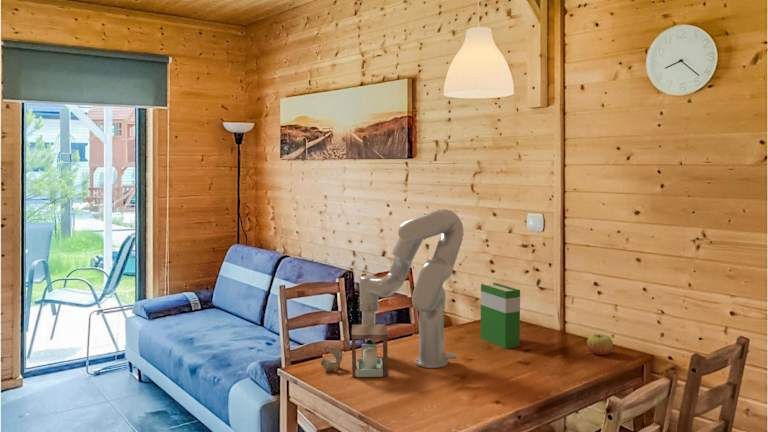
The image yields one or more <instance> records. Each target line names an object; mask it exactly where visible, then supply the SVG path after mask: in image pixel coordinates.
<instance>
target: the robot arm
mask: <svg viewBox="0 0 768 432" xmlns="http://www.w3.org/2000/svg"><path fill="white" fill-rule="evenodd" d="M397 230H398V232H397V234H398V237H399V238H398V239H397V242H396V244H395V245H394V247H393V250H392V255H393V262H392V265H391V267H390V269H389V271H388V272H387V274H386V275H385V276H382V277H380V278H379V277H378V276H377V275H373V274H366V275H365V274H364V275H362V276H360V278H359V311H360V312H361V315H362V316H361V325H363V324H376V312H378V311H379V297H381V298H387V297H390V296H391V295H393V294H394V293H396V292H398V291H400V289H401V288H402V286H403V285H404V282H405V281H406V279H407V277H408V275H409V272H410V271H411V267H412V263H413V260H414V259H415V256H416V255H417V253H418V250H419V248H420V246H421V245H422V243H423V241H424V240H425V239H429V238H432V237H435V236H439V235H440V237H439V240H438V241H437V245H436V247H435V249H434V253H433V256H432V257H431V259H430V260H428V261H426V262H425V263H424V264H423V266H422V267H421V269H420V272H419V274H418V278H417V280H416V282H415V285H414V288H413V291H412V296H411V302H412V305H413V307H414V308H415V310H416V311H418V313H419V315H418V316H419V317H418V330H419V331H418V333H419V334H418V338H419V340H418V342H419V343H418V344H419V345H418V346H419V347H418V349H419V350H418V351H419V352H418V355H419V356H418V357H416V358H415V360H414V363H415V364H416V366H418V367H421V368H427V369H437V368H439V369H440V368H443V367H446V366H448V363H449V360H450V359H451V360H456V359H457V354H456V353H452V352H446V351H445V345H444V344H445V340H444V338H445V306H446V291H445V288H444V287H443V285H444V283H445V282H447V280H448V279H450V278H451V276H452V274H453V270H454V266H455V264H456V261H457V259H458V255H459V252H460V249H461V246H462V243H463V240H464V226H463V222H462V220H461V219H460V217H459V215H457V214H456V212H454V211H453V210H451V209H446V208H445V209H439V210H434V211H431V212H428V213H426V214H424V215H421V216H418V217H415V218H411V219H408V220H404V221H403V222H402V223H401V224H400V225H399V228H398V229H397ZM373 340H374V339H365V341H364V342H365V343H364V344H374V341H373Z"/></svg>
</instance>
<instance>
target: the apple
mask: <svg viewBox="0 0 768 432" xmlns="http://www.w3.org/2000/svg"><path fill="white" fill-rule="evenodd" d="M586 341H587V342H586V345H587V349H588V351H589V352H590V353H592V354H594V355H597V356H607V355H609V354H610V353H611V352H612V351H613V346H614V344H613V340H612V338H611V337H609V336H608V335H606V334H603V333H602V334H601V333H597V334H595V333H594V334H591V335H590V336H589V337H587V340H586Z"/></svg>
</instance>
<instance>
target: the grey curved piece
mask: <svg viewBox="0 0 768 432" xmlns="http://www.w3.org/2000/svg"><path fill="white" fill-rule="evenodd" d="M328 350H329V353H330V354H331V355H333V357H334V358H335V359H332V358H327V359H325V357H324V358H322V359H321V360H320V365H321V366H322V367H323V369H324V371H326V372H335V373H337V370H340V368H341V363H342V360H343V352H342V351H341V350H340V349H339V348H338V347H336V346H330V347H329V349H328Z"/></svg>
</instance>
